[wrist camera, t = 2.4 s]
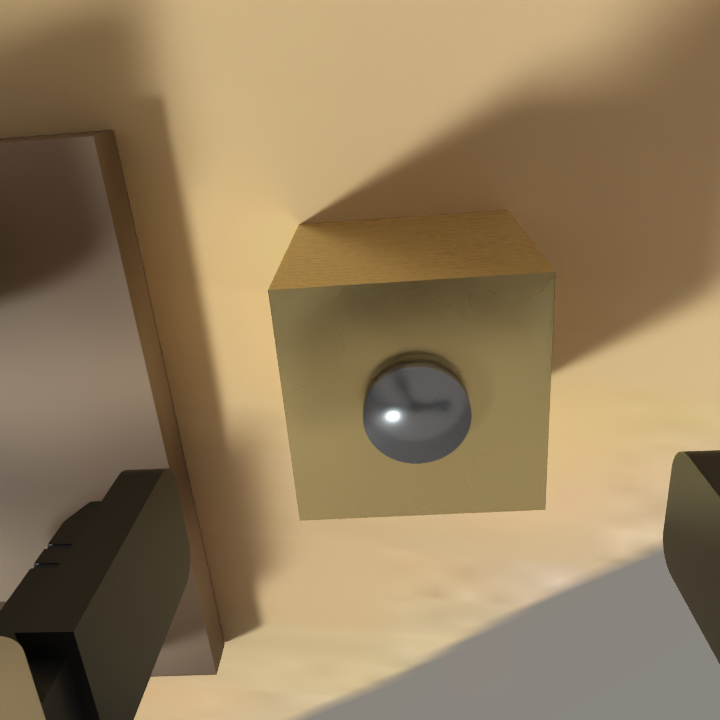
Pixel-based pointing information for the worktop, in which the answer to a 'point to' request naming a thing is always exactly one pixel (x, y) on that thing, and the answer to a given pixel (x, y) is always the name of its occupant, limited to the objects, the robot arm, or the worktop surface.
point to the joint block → (415, 365)
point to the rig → (83, 368)
